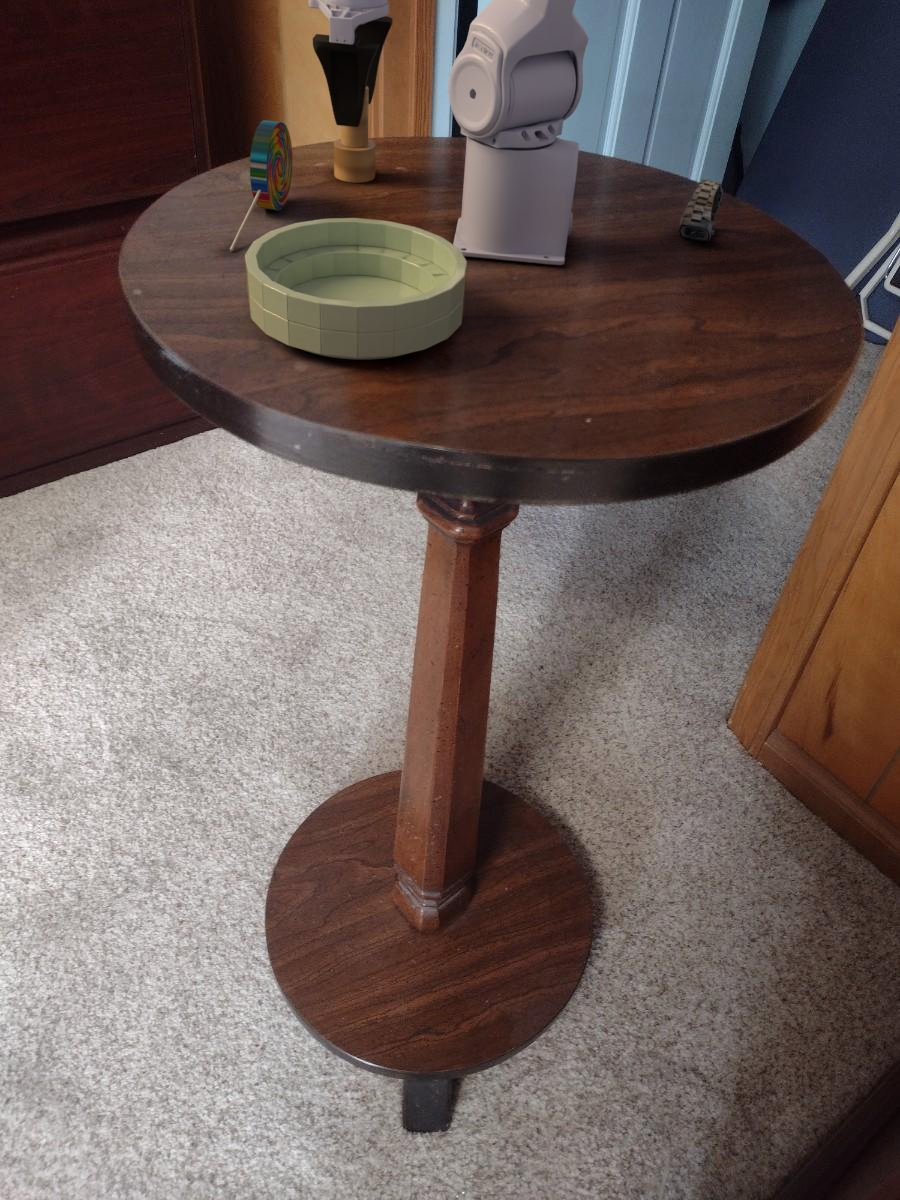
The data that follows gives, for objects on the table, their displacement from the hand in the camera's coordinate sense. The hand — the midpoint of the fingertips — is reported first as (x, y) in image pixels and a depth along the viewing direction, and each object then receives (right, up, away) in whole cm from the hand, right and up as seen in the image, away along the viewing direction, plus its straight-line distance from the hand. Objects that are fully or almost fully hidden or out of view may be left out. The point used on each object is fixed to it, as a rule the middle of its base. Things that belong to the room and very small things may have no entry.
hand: (354, 113), depth 91 cm
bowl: (+2, -25, -20) cm, 32 cm away
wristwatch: (+32, -13, -3) cm, 34 cm away
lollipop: (-8, -13, -7) cm, 16 cm away
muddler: (0, -4, +4) cm, 6 cm away
